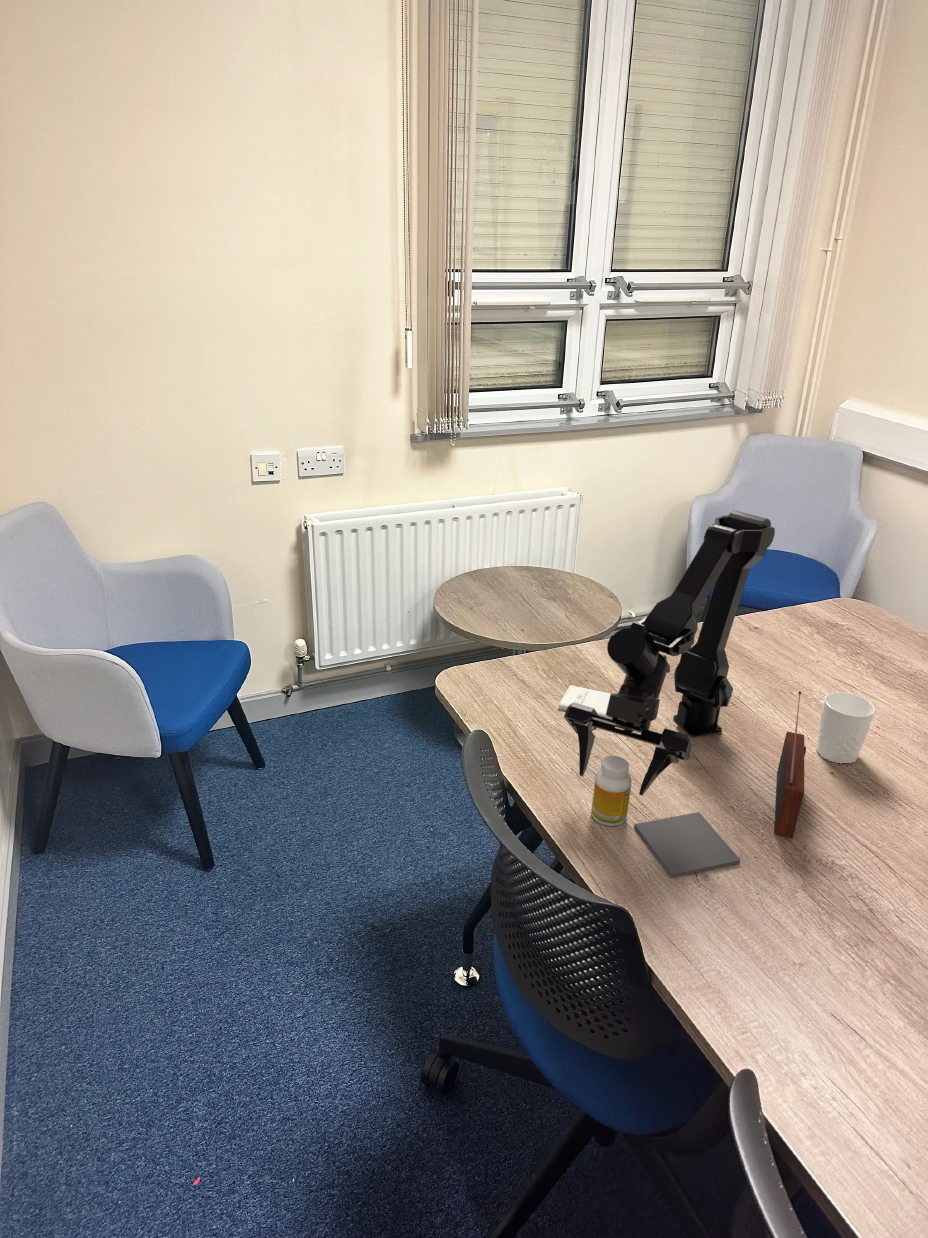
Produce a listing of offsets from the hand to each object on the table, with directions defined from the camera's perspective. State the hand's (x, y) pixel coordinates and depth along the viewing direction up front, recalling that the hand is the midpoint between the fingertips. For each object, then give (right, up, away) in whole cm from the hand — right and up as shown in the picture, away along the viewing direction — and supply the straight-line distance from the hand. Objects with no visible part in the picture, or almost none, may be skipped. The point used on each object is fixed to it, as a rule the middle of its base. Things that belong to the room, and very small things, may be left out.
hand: (610, 785), depth 124 cm
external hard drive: (+3, +8, +33) cm, 34 cm away
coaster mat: (+11, -8, -1) cm, 14 cm away
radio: (+29, -4, +9) cm, 31 cm away
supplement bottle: (0, -6, +4) cm, 7 cm away
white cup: (+43, +1, +21) cm, 48 cm away
